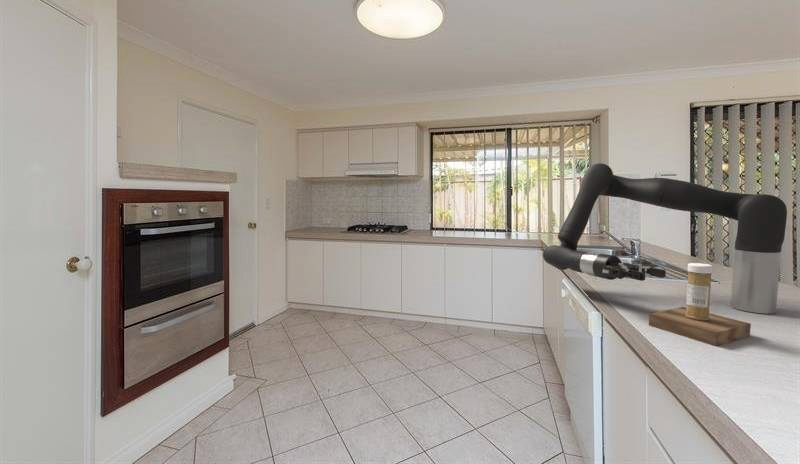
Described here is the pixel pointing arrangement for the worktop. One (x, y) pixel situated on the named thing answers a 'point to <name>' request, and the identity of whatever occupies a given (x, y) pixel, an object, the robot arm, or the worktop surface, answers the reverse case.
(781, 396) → the worktop surface
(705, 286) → the spice jar
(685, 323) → the walnut base
